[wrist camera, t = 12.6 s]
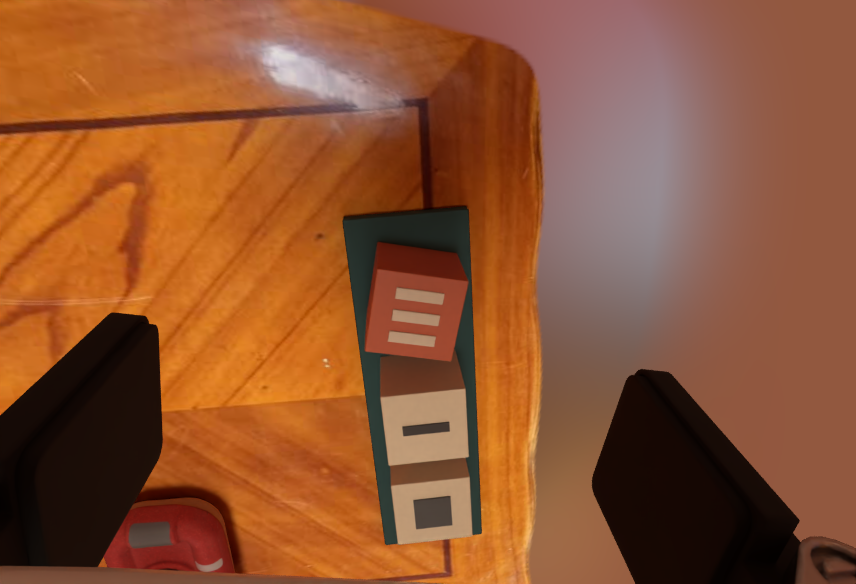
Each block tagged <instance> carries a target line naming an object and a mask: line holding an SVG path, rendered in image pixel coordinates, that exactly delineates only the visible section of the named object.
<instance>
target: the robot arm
mask: <svg viewBox="0 0 856 584" xmlns="http://www.w3.org/2000/svg"><path fill="white" fill-rule="evenodd" d="M162 442H163V437H162V411H161V385H160V359H159V333H158V328H157V326H156V325H153V324H149V321H148V319H147V317H146V316H141V315H132V314H122V313H110V314H109V315H108V316H107V317H105V318H104V319H103V320H102V321H101V322H100V323H99V324H98V325H97V326H96V327H95V328H94V329H93V330H92V331H90V332H89V333H88V334H87V335H86V336H85V337H84V338H83V339H82V340H81V341H80V342H79V343H78V344H77V345H76V346H74V347H73V348H72V349H71V350H70V351H69V352H68V353H67V354H66V355H65V356H64V357H63V358H62V359H61V360H59V361H58V362H57V363H56V364H55V365H54V366H53V367H52V368H51V369H50V370H49V371H48V372H47V373H46V374H45V375H43V376H42V377H41V378H40V379H39V380H38V381H37V382H36V383H35V384H34V385H32V386H31V387H30V388H29V389H28V390H27V391H26V392H25V393H24V394H23V395H22V396H21V397H20V398H19V399H17V400H16V401H15V402H14V403H13V404H12V405H11V406H10V407H9V408H8V409H7V410H6V411H5V412H4V413H2V414H1V415H0V584H439V583H420V582H401V581H382V580H363V579H343V578H322V577H301V576H280V575H259V574H238V573H217V572H196V571H175V570H153V569H131V568H109V567H98V565H99V564H100V562H101V560H102V558H103V557H104V555H105V553H106V551H107V549H108V548H109V546H110V544H111V542H112V541H113V539H114V537H115V535H116V534H117V532H118V530H119V528H120V526H121V525H122V523H123V521H124V519H125V518H126V516H127V514H128V512H129V511H130V509H131V507H132V505H133V504H134V502H135V500H136V498H137V496H138V495H139V493H140V491H141V489H142V488H143V486H144V484H145V482H146V481H147V479H148V477H149V475H150V473H151V472H152V470H153V468H154V466H155V465H156V463H157V461H158V459H159V456H160V453H161V449H162ZM592 489H593V492H594V495H595V497H596V500H597V502H598V504H599V506H600V508H601V510H602V513H603V515H604V517H605V519H606V521H607V523H608V526H609V527H610V530H611V532H612V534H613V536H614V539H615V541H616V543H617V545H618V547H619V549H620V551H621V554H622V556H623V558H624V560H625V562H626V564H627V567H628V568H629V571H630V573H631V575H632V577H633V579H634V581H635V584H856V548H854V547H852V546H849V545H847V544H844V543H842V542H840V541H837V540H834V539H830V538H826V537H808V538H806V539H804V540H802V542H800V541H799V540H798V539H797V538H796V536H795V535H794V534H793V531H794V530H795V528H796V527H797V524H798V523H799V519H798V518H797V517H796V516H795V514H794V513H793V512H792V511H791V510H790V509H789V508H788V507H787V505H786V504H785V503H784V502H783V501H782V500H781V498H780V497H779V496H778V495H777V494H776V493H775V492H774V491H773V489H771V487H770V486H769V485H768V484H767V483H766V481H765V480H764V479H763V478H762V477H761V476H760V475H759V473H758V472H757V471H756V470H755V469H754V468H753V467H752V465H751V464H750V463H749V462H748V461H747V460H746V459H745V458H744V456H743V455H742V454H741V453H740V452H739V451H738V450H737V448H736V447H735V446H734V445H733V444H732V443H731V442H730V440H729V439H728V438H727V437H726V436H725V435H724V434H723V433H722V431H721V430H720V429H719V428H718V427H717V426H716V424H715V423H714V422H713V421H712V420H711V419H710V418H709V416H708V415H707V414H706V413H705V412H704V411H703V410H702V409H701V408H700V406H699V405H698V404H697V403H696V402H695V401H694V399H693V398H692V397H691V396H690V395H689V394H688V393H687V391H686V390H685V389H684V388H683V387H682V386H681V385H680V384H679V383H678V381H677V380H676V379H675V378H674V377H673V376H672V374H670V373H669V372H664V371H654V370H645V369H640V370H638V371H637V372H636V373H635V375H631V376H629V377H628V378H627V380H626V382H625V385H624V388H623V391H622V394H621V397H620V399H619V402H618V405H617V408H616V411H615V414H614V416H613V419H612V422H611V425H610V428H609V431H608V434H607V437H606V439H605V442H604V445H603V448H602V451H601V454H600V456H599V459H598V462H597V465H596V468H595V471H594V474H593V477H592Z"/></svg>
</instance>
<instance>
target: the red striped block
mask: <svg viewBox="0 0 856 584" xmlns="http://www.w3.org/2000/svg"><path fill="white" fill-rule="evenodd" d="M468 283H469V282H468V279H467V277H466V274H465V272H464V269H463V267H462V264H461V262H460V260H459V257H458V255H457V253H451V252H444V251H437V250H430V249H424V248H417V247H410V246H403V245H396V244H389V243H382V242H378V243H377V247H376V254H375V261H374V268H373V274H372V281H371V288H370V295H369V301H368V308H367V315H366V333H365V351H366V352H374V353H383V354H391V355H400V356H408V357H417V358H425V359H434V360H442V361H451V360H452V356H453V352H454V347H455V343H456V338H457V333H458V329H459V324H460V320H461V315H462V310H463V306H464V301H465V297H466V292H467V287H468Z"/></svg>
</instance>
